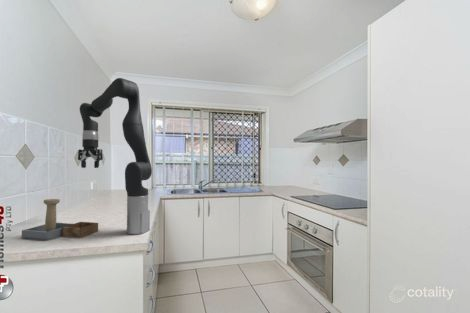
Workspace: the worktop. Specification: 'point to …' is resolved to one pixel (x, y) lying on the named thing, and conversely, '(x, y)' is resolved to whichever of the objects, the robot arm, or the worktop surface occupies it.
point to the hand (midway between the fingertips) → (90, 167)
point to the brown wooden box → (79, 229)
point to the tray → (43, 232)
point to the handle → (50, 214)
